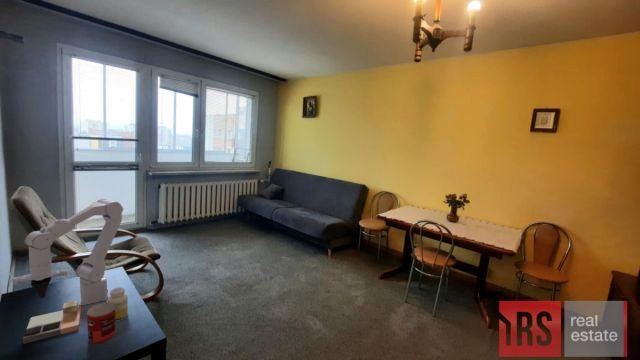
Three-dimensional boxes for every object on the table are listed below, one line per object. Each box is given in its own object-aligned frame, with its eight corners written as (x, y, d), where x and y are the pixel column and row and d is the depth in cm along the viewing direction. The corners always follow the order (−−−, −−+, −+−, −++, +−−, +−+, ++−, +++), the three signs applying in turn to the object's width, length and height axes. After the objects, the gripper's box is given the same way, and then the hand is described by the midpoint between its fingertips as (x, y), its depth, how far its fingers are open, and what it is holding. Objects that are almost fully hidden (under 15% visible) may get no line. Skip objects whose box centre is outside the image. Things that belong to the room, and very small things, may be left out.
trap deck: (81, 310, 116) (81, 306, 116) (78, 329, 106) (78, 324, 106) (31, 322, 108) (31, 317, 108) (23, 343, 97) (22, 338, 97)
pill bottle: (114, 312, 117) (113, 286, 115) (131, 312, 118) (130, 286, 116) (104, 322, 111) (103, 294, 109) (121, 322, 111) (121, 295, 110)
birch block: (77, 309, 114) (77, 300, 114) (77, 314, 111) (76, 305, 110) (64, 312, 112) (64, 303, 111) (63, 318, 108) (62, 308, 108)
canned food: (92, 332, 105) (91, 304, 104) (118, 327, 108) (117, 301, 107) (84, 346, 98) (83, 316, 97) (112, 341, 101) (111, 312, 100)
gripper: (9, 271, 99) (12, 307, 101) (65, 263, 108) (66, 296, 110) (14, 263, 105) (17, 297, 107) (67, 256, 113) (68, 288, 115)
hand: (42, 296), depth 109 cm, fingers closed
